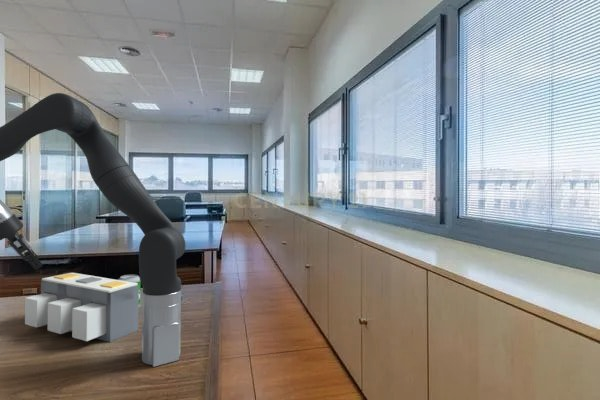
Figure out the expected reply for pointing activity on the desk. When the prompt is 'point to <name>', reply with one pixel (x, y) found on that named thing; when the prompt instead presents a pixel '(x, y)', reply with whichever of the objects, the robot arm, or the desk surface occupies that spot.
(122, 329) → the button panel
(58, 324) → the middle button
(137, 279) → the soda can
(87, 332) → the near button
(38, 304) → the white rectangular block
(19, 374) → the desk surface
